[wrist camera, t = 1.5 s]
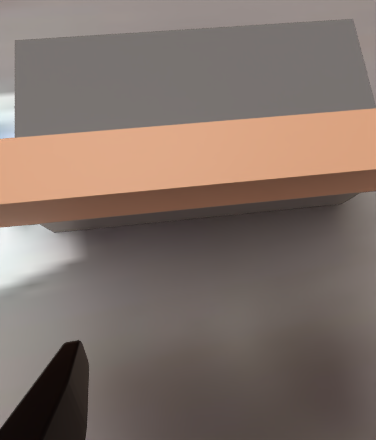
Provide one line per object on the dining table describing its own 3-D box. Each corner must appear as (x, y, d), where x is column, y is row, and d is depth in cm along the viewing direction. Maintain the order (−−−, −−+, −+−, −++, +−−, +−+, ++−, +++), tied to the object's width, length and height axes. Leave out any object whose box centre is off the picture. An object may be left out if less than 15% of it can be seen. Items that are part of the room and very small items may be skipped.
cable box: (341, 203, 25) (393, 173, 19) (-89, 246, 23) (-180, 227, 17) (314, 80, 27) (352, 18, 21) (-80, 109, 25) (-157, 51, 19)
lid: (397, 166, 19) (399, 189, 18) (10, 202, 17) (13, 227, 17) (741, 78, 7) (749, 134, 7) (-270, 160, 6) (-263, 228, 6)
